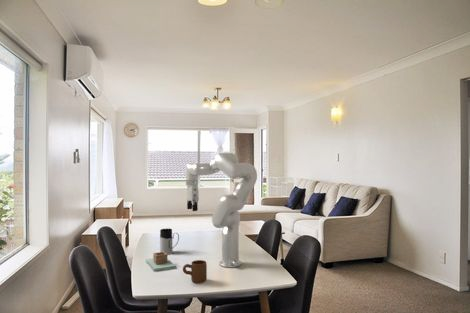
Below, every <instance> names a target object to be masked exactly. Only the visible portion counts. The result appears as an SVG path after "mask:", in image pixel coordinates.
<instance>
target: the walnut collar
mask: <svg viewBox="0 0 470 313" xmlns="http://www.w3.org/2000/svg"><path fill="white" fill-rule="evenodd" d="M152 254H153V256H152V259H153V262H154V263H155V264H156V265H158V264H165V263H167V258H168V255H167V254H166V253H165V252H160V251H159V252H154V253H152ZM161 254H163V255H161Z"/></svg>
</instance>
